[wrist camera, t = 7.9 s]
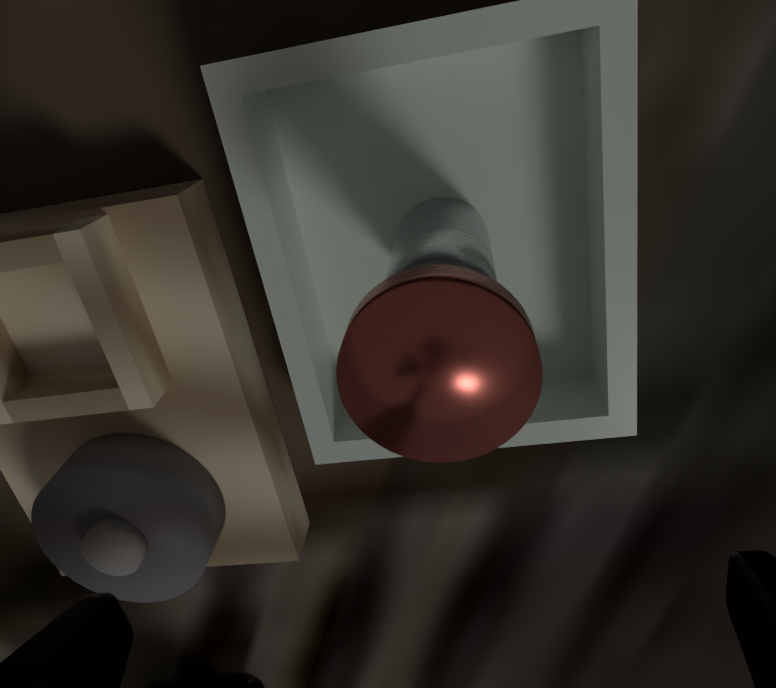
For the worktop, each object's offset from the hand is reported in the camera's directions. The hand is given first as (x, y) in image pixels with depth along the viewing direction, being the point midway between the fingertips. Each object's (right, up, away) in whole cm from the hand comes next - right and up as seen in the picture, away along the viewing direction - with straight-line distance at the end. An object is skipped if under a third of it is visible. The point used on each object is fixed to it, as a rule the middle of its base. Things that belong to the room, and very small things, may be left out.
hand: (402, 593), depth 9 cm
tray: (+2, +7, +10) cm, 12 cm away
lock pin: (+1, +7, +10) cm, 12 cm away
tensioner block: (-10, +2, +14) cm, 17 cm away
